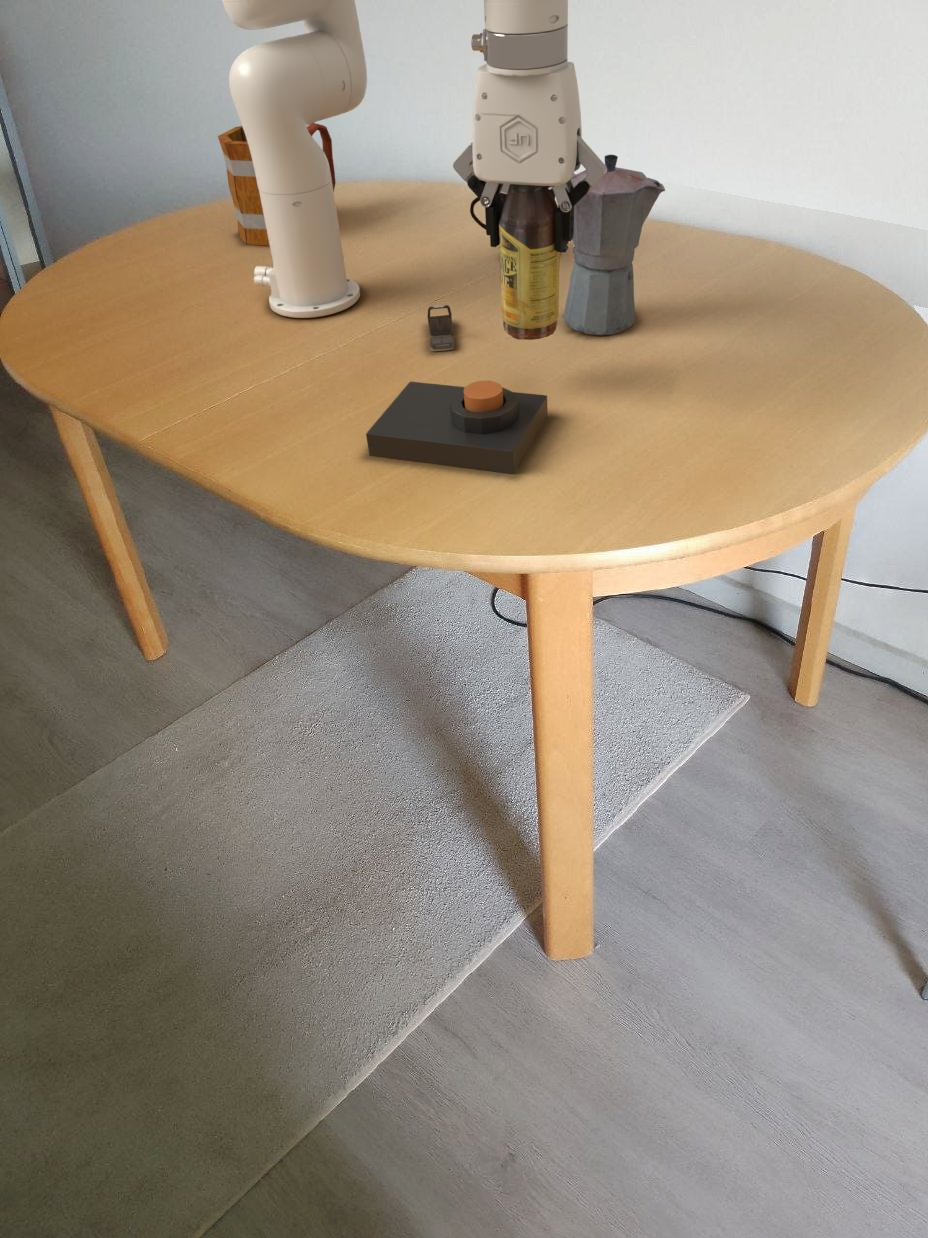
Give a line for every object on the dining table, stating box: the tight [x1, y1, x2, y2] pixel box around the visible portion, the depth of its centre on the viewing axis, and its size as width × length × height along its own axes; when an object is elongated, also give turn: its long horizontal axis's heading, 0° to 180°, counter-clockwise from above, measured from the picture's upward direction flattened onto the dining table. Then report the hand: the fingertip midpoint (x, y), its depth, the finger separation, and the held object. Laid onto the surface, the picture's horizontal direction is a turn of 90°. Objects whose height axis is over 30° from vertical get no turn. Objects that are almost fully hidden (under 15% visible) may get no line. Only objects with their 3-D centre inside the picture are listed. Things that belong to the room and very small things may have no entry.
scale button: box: [464, 380, 504, 413], centre depth 102 cm, size 4×4×2 cm
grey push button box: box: [365, 381, 549, 475], centre depth 105 cm, size 16×12×4 cm
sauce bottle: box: [499, 184, 561, 341], centre depth 103 cm, size 6×6×20 cm
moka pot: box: [547, 154, 666, 336], centre depth 120 cm, size 10×15×20 cm, turn 78°
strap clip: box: [427, 304, 455, 352], centre depth 125 cm, size 8×3×4 cm, turn 3°
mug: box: [217, 122, 336, 247], centre depth 159 cm, size 20×14×15 cm
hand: (529, 243), depth 103 cm, fingers closed on sauce bottle, 6 cm apart
